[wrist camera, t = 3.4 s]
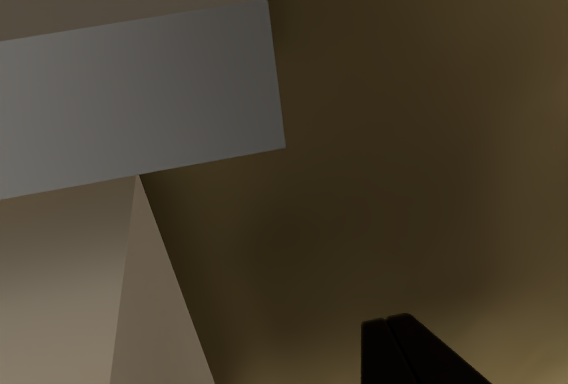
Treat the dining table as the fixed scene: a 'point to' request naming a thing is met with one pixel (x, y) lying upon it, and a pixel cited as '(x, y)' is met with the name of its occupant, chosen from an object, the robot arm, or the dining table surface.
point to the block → (91, 291)
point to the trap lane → (131, 88)
